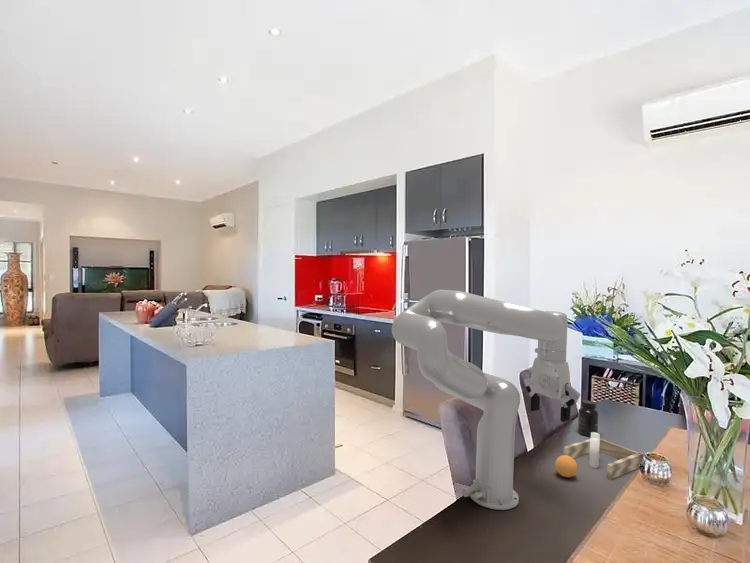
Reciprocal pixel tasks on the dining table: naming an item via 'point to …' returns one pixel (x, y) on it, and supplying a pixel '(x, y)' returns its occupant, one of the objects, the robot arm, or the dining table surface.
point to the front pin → (594, 452)
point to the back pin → (596, 436)
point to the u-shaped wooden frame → (627, 456)
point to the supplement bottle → (588, 418)
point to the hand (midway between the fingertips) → (549, 415)
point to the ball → (566, 466)
